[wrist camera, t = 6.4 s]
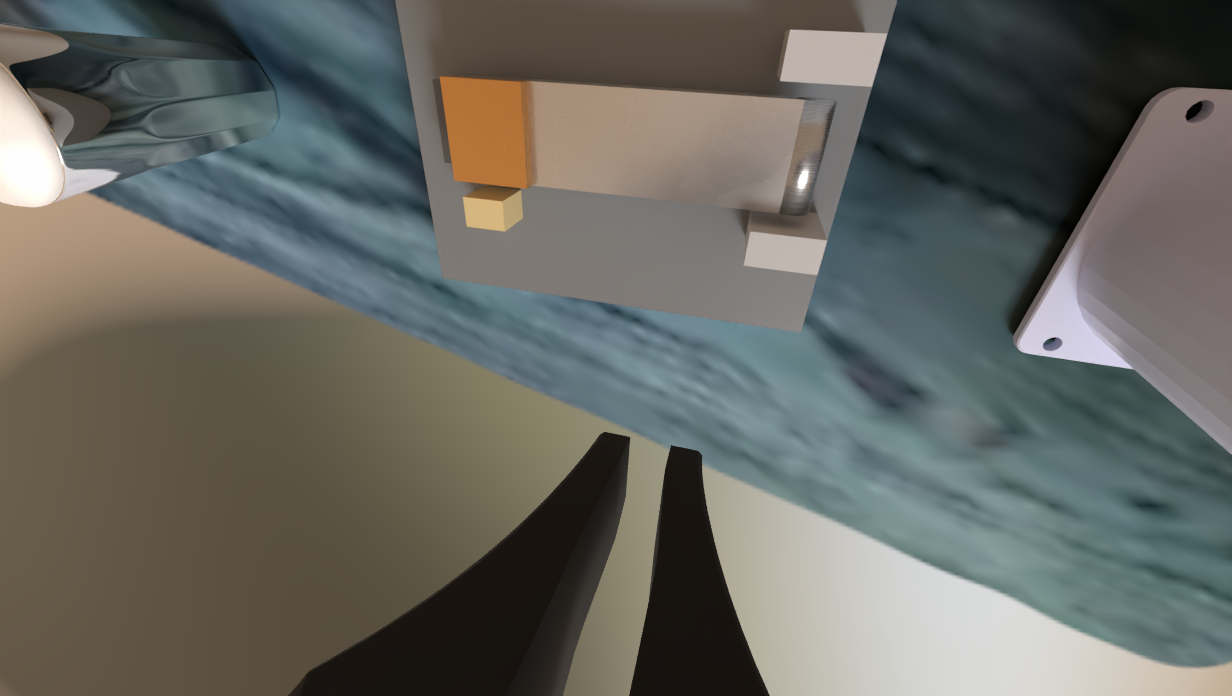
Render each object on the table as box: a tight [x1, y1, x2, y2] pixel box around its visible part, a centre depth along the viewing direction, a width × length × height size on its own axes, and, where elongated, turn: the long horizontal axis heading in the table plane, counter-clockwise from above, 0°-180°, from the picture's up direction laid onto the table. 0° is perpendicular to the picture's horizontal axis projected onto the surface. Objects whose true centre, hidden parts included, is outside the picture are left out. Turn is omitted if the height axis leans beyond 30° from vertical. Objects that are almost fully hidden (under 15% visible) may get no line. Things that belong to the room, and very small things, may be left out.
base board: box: [395, 0, 897, 332], centre depth 15 cm, size 14×12×4 cm
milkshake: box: [0, 23, 279, 207], centre depth 15 cm, size 5×5×10 cm
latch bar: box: [440, 74, 837, 216], centre depth 14 cm, size 10×3×1 cm, turn 90°
